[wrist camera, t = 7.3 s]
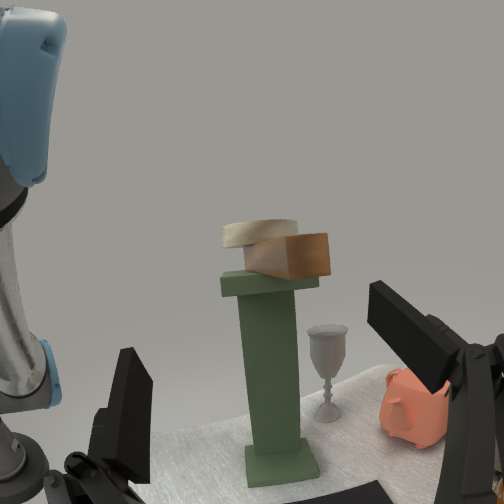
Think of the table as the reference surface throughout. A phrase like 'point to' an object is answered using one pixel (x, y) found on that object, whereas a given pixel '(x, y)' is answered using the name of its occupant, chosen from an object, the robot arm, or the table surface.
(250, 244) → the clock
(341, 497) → the black mat
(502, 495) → the canister
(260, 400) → the post
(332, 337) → the chalice
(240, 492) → the table surface
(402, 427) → the teapot
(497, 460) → the fruit
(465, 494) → the robot arm
